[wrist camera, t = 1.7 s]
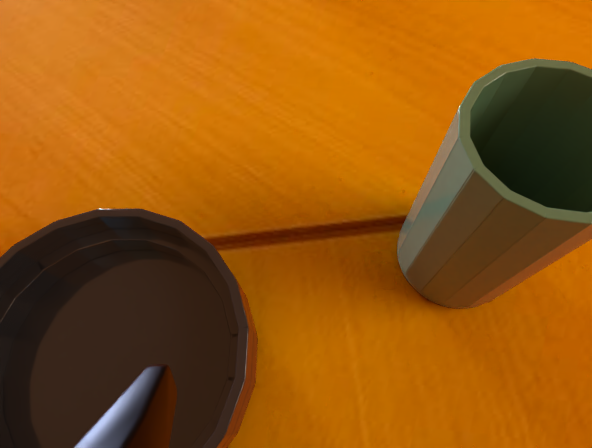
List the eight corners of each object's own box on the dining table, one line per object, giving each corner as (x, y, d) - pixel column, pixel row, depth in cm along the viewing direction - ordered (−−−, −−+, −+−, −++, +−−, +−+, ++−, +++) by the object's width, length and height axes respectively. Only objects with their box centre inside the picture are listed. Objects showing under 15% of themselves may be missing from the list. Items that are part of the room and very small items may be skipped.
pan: (312, 395, 22) (311, 392, 18) (47, 598, 19) (-16, 643, 15) (178, 194, 27) (157, 161, 24) (-45, 328, 24) (-108, 314, 21)
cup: (533, 265, 24) (711, 149, 13) (450, 332, 23) (572, 262, 12) (454, 186, 27) (549, 32, 16) (374, 242, 25) (418, 117, 14)
